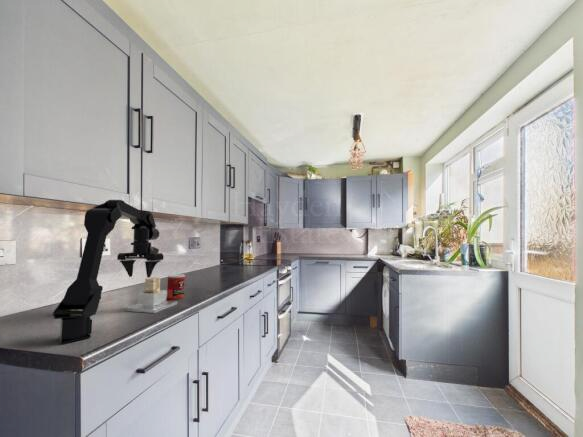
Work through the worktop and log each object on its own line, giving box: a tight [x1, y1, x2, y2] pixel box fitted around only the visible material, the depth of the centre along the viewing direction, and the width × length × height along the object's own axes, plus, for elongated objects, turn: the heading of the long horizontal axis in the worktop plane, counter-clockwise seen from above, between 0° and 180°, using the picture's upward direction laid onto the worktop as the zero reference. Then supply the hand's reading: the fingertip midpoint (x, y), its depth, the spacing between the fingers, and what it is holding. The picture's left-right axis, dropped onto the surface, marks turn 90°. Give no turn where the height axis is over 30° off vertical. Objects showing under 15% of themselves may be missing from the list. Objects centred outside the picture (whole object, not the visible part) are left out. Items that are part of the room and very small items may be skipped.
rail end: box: [144, 277, 161, 293], centre depth 109 cm, size 4×4×9 cm
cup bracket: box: [123, 289, 178, 314], centre depth 109 cm, size 14×14×6 cm
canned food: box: [166, 273, 186, 301], centre depth 125 cm, size 8×8×11 cm
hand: (139, 277), depth 109 cm, fingers open, 9 cm apart
